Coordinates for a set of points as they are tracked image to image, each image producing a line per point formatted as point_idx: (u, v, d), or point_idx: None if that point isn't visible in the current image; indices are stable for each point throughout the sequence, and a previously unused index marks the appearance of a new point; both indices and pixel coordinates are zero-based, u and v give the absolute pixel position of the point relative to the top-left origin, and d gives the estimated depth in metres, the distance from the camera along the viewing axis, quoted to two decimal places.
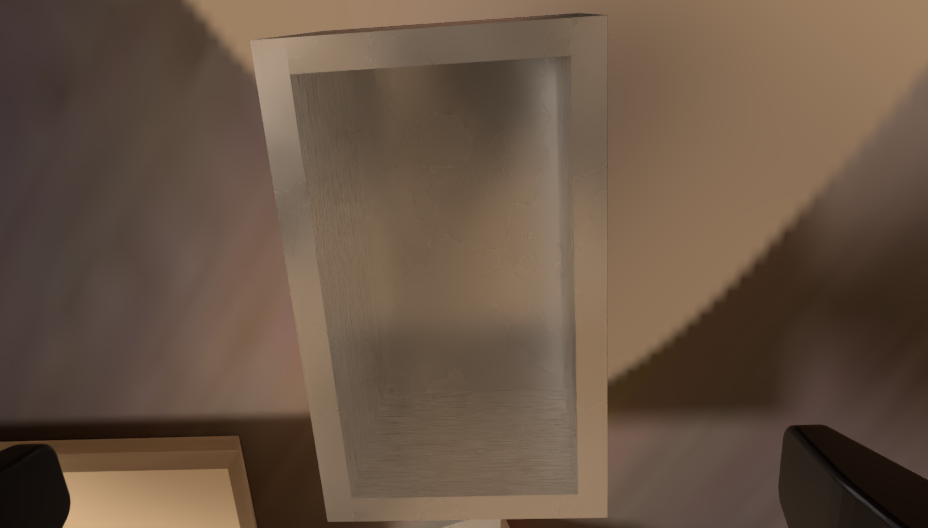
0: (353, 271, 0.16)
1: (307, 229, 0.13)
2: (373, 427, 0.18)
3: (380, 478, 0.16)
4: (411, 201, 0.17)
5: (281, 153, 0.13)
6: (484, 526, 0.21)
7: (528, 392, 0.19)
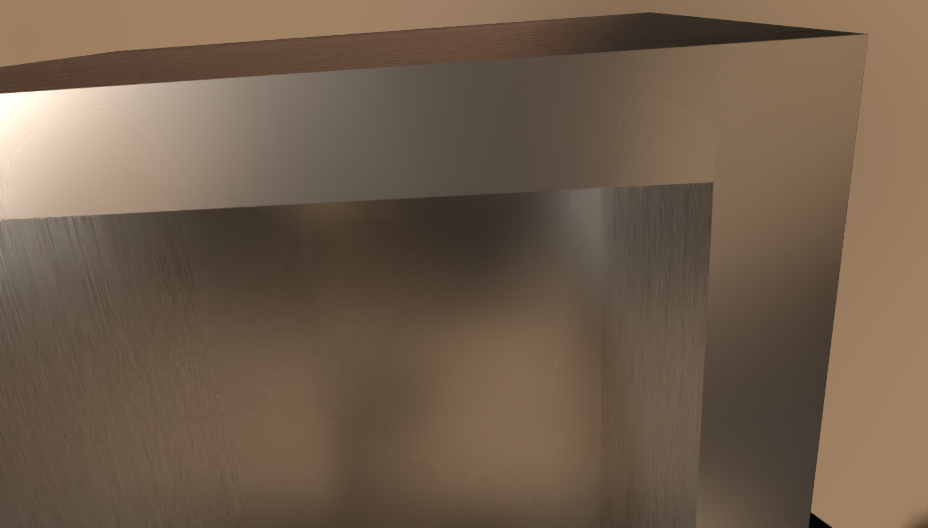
0: None
1: None
2: None
3: None
4: (310, 384, 0.09)
5: None
6: None
7: None
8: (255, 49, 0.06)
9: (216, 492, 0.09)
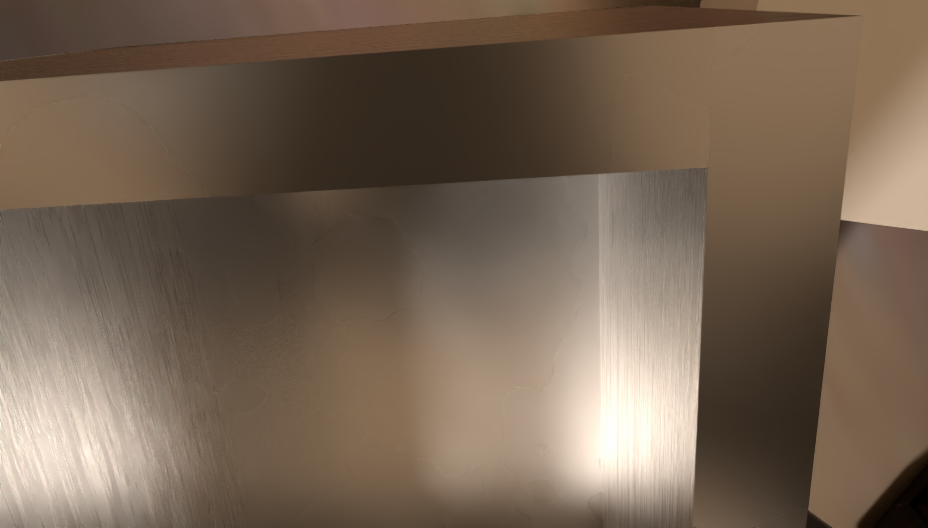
0: None
1: None
2: None
3: None
4: (308, 381, 0.09)
5: None
6: None
7: None
8: (249, 42, 0.06)
9: (214, 490, 0.09)
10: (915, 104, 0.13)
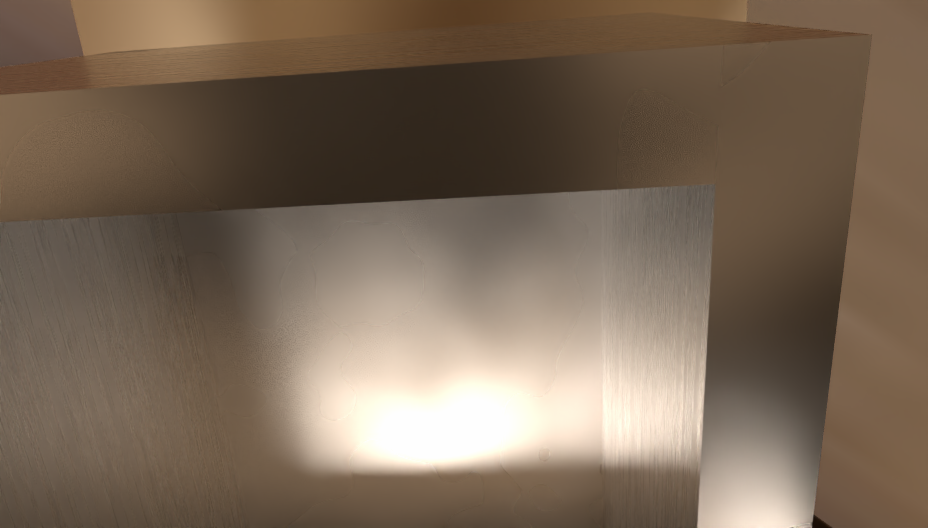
0: None
1: None
2: None
3: None
4: (309, 386, 0.09)
5: None
6: None
7: None
8: (253, 50, 0.06)
9: (215, 494, 0.09)
10: None
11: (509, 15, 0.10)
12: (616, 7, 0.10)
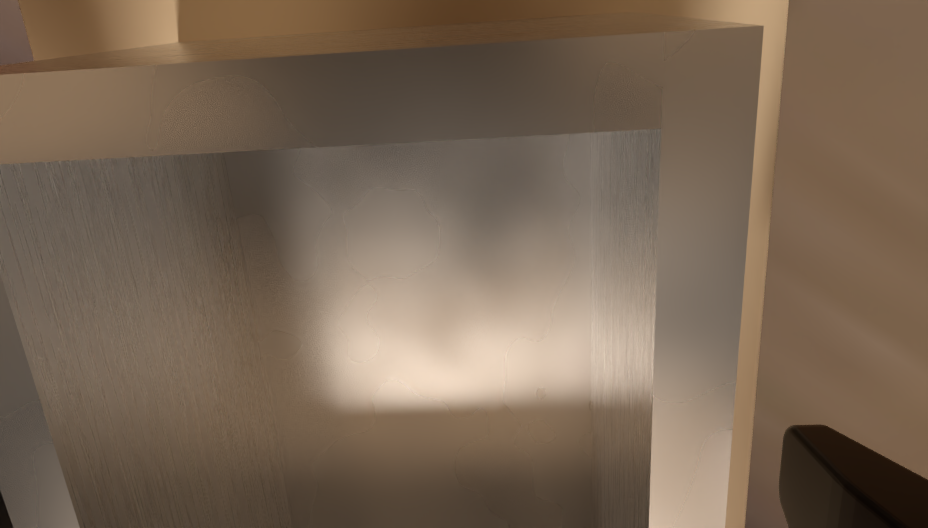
0: (226, 475, 0.09)
1: (57, 493, 0.06)
2: None
3: None
4: (339, 332, 0.10)
5: None
6: None
7: None
8: (309, 39, 0.07)
9: (257, 425, 0.10)
10: None
11: (515, 16, 0.09)
12: (638, 7, 0.09)
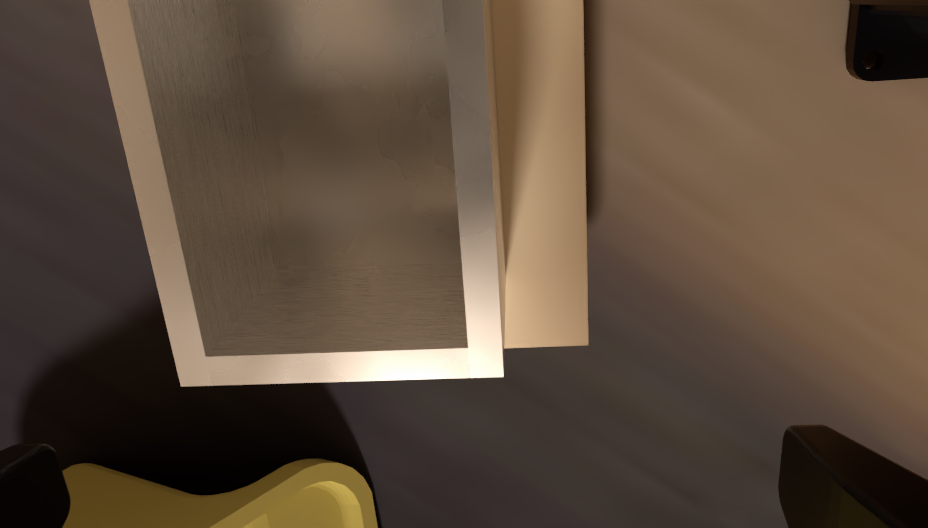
0: (218, 103, 0.14)
1: (122, 6, 0.11)
2: (254, 296, 0.15)
3: (245, 339, 0.13)
4: (295, 34, 0.15)
5: None
6: None
7: (438, 266, 0.17)
8: None
9: (240, 97, 0.15)
10: None
11: None
12: None
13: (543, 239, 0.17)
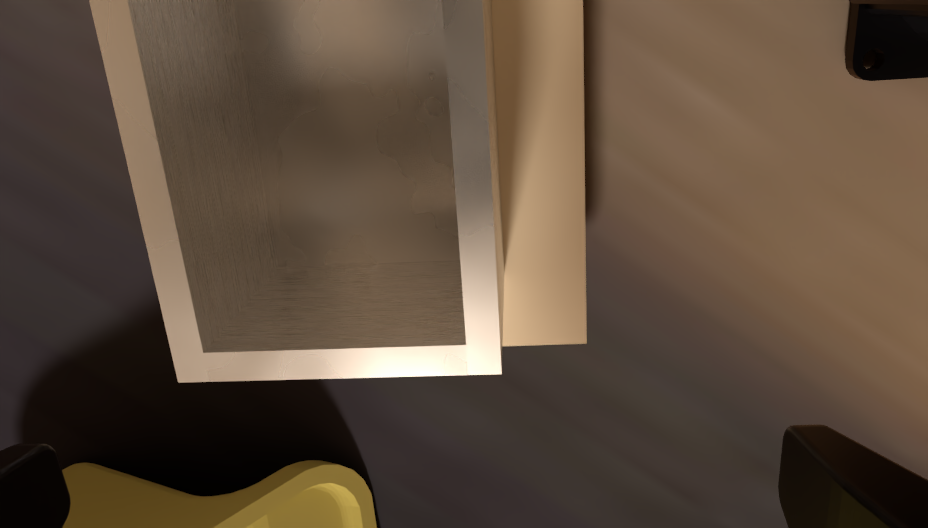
0: (217, 99, 0.14)
1: (121, 0, 0.11)
2: (252, 293, 0.15)
3: (243, 336, 0.13)
4: (294, 31, 0.15)
5: None
6: None
7: (437, 263, 0.17)
8: None
9: (239, 93, 0.15)
10: None
11: None
12: None
13: (542, 237, 0.17)
